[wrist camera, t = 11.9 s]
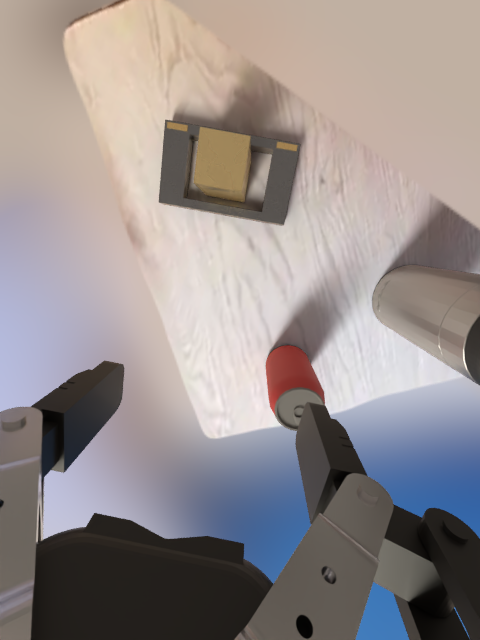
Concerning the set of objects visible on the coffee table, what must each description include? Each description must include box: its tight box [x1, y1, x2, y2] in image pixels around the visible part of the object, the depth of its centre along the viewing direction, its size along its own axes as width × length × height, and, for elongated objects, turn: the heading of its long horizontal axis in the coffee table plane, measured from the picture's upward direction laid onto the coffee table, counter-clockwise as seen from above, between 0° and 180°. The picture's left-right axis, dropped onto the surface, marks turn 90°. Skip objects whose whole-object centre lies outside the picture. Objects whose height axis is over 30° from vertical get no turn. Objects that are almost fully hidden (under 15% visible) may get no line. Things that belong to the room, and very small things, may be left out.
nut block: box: [194, 127, 251, 202], centre depth 31 cm, size 5×5×8 cm
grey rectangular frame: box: [159, 120, 300, 226], centre depth 33 cm, size 16×9×2 cm, turn 80°
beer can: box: [266, 345, 325, 431], centre depth 35 cm, size 7×7×12 cm
